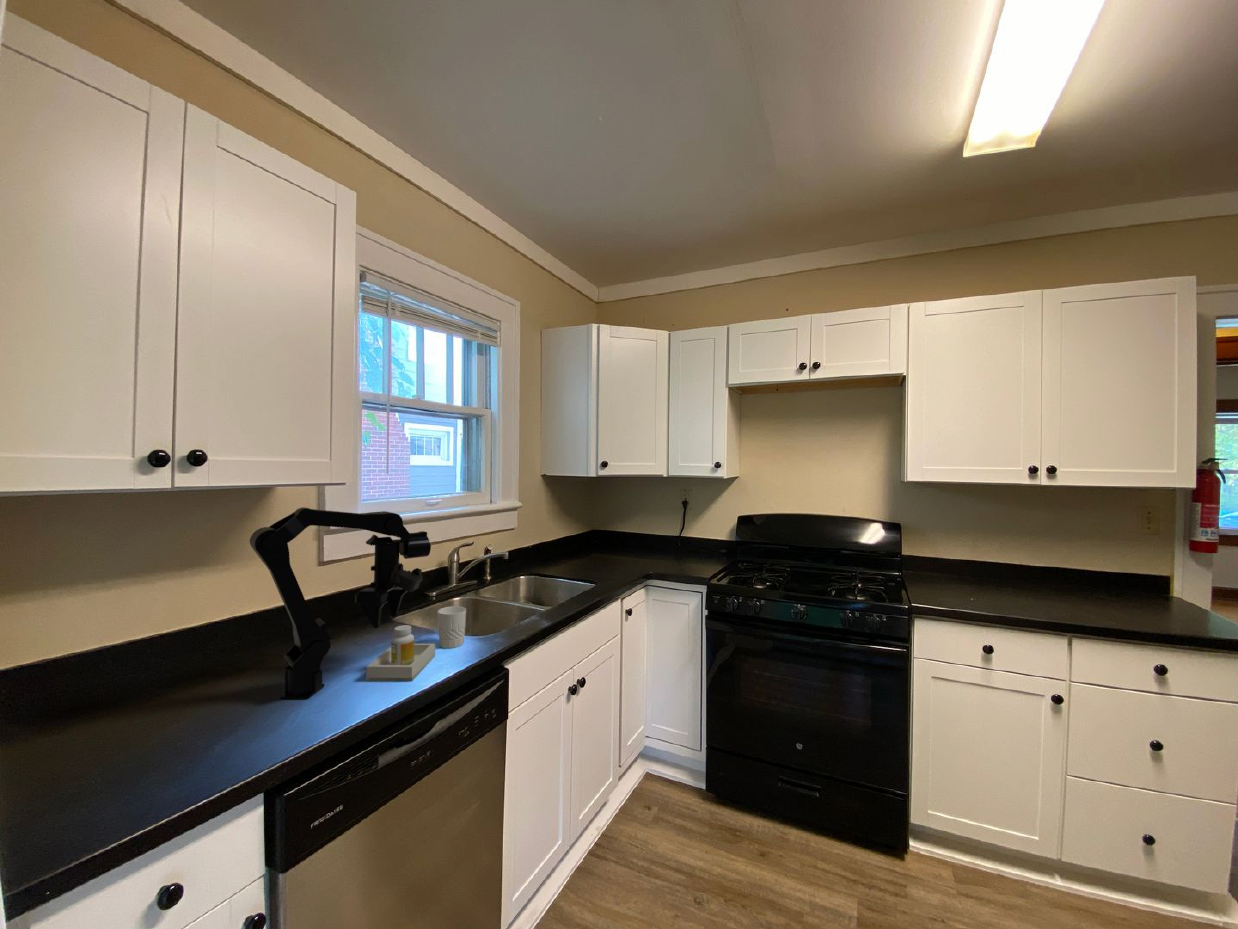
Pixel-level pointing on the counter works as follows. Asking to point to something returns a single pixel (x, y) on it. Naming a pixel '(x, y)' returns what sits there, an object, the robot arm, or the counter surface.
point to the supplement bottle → (402, 646)
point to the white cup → (451, 626)
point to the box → (388, 672)
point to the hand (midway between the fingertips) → (385, 622)
